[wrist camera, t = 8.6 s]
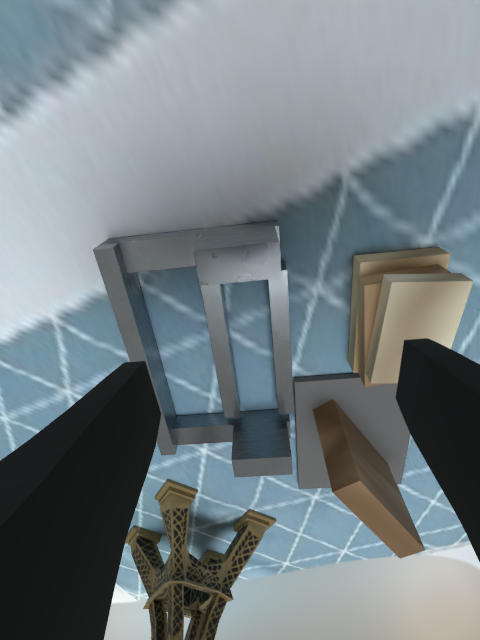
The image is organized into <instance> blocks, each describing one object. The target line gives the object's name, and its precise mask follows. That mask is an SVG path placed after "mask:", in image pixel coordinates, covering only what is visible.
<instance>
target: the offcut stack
mask: <svg viewBox="0 0 480 640" xmlns="http://www.w3.org/2000/svg"><path fill="white" fill-rule="evenodd" d="M449 259H450V253H448V252H446V251H445V250H443V249H441V248H439V247H434V248H424V249H414V250H404V251H394V252H384V253H374V254H364V255H354V260H353V278H352V297H351V315H350V334H349V352H348V362H349V364H350V367H351V369H352V371H353V373H357V372H359V376H360V378H361V380H362V382H363V384H364V386H365V387H369V386H377V385H385V384H393V383H398V378H399V371H400V364H401V358H402V351H403V344H404V340H411V339H423V338H428V339H431V340H433V341H435V342H437V343H439V344H441V345H443V346H445V347H447V348H449V349H451V347H452V344H453V341H454V338H455V335H456V332H457V329H458V326H459V323H460V320H461V317H462V314H463V311H464V308H465V305H466V302H467V299H468V296H469V293H470V290H471V287H472V284H473V280H471V279H469V278H468V277H466V276H465V275H463V274H461V273H451V272H450V271H448V265H449Z"/></svg>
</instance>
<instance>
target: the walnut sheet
mask: <svg viewBox="0 0 480 640" xmlns="http://www.w3.org/2000/svg"><path fill="white" fill-rule="evenodd" d="M313 413H314V418H315V422H316V426H317V430H318V434H319V438H320V443H321V447H322V451H323V455H324V459H325V463H326V468H327V472H328V476H329V480H330V484H331V488H332V492H333V493H334V494H335V495H336V496H337V497H338V498H339V499H340V500H341V501H342V502H343V503H344V504H345V505H346V506H347V507H348V508H349V509H350V510H351V511H352V512H353V513H354V514H355V515H356V516H357V517H358V518H359V519H360V520H361V521H362V522H363V523H364V524H365V525H366V526H367V527H368V528H369V529H370V530H371V531H372V532H373V533H375V534H376V535H377V536H378V537H379V538H380V539H381V540H382V541H383V542H384V543H385V544H386V545H387V546H388V547H389V548H390V549H391V550H392V551H393V552H394V553H395V554H396V555H397V556H398V557H399V558H403V557H406V556H409V555H412V554H415V553H418V552H421V551H424V550H425V549H424V546H423V544H422V542H421V539H420V537H419V535H418V532H417V530H416V528H415V526H414V523H413V521H412V519H411V516H410V514H409V512H408V509H407V507H406V505H405V502H404V500H403V498H402V495H401V493H400V491H399V489H398V486H397V484H396V482H395V479H394V477H393V475H392V472H391V470H390V468H389V465H388V463H387V462H386V461H385V460H384V458H383V457H382V456H381V455H380V454H379V453H378V451H377V450H376V449H375V448H374V447H373V445H372V444H371V443H370V442H369V441H368V440H367V438H366V437H365V436H364V435H363V434H362V432H361V431H360V430H359V429H358V428H357V427H356V425H355V424H354V423H353V422H352V421H351V419H350V418H349V417H348V416H347V415H346V414H345V412H344V411H343V410H342V409H341V408H340V406H339V405H338V404H337V403H336V402H335V401H334V399H332V400H330V401H328V402H326V403H324V404H322V405H321V406H319V407H317V408H315V409H313Z"/></svg>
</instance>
